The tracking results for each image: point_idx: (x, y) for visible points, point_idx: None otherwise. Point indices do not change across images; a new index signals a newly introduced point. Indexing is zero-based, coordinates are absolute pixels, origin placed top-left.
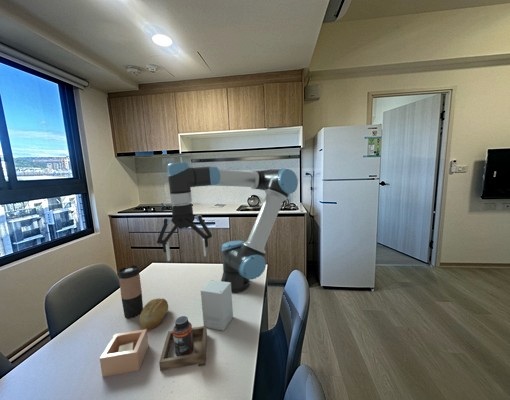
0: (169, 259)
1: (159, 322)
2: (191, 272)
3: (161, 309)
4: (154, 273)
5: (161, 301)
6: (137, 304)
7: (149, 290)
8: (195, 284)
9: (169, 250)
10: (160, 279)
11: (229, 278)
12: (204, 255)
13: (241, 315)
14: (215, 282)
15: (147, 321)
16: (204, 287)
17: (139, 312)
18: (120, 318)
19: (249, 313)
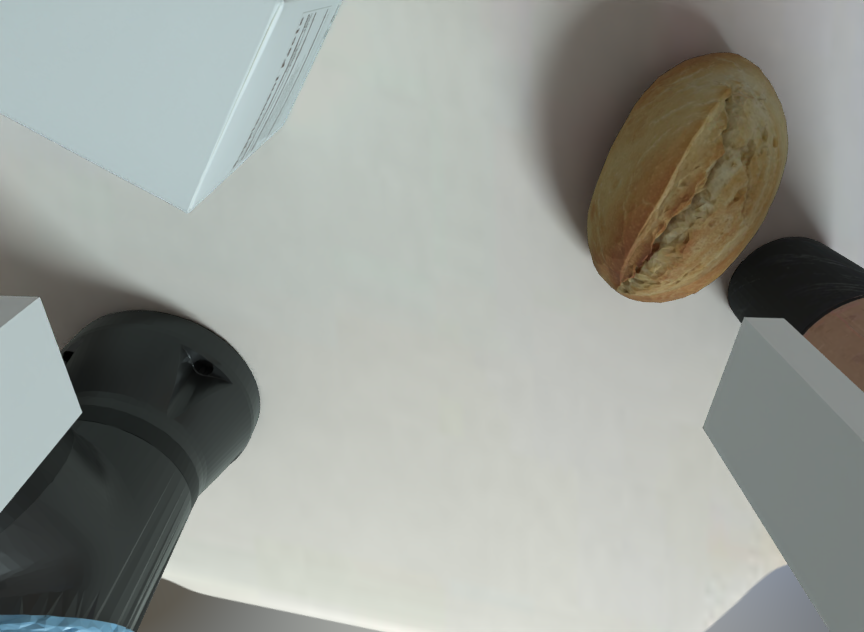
0: (752, 343)
1: (644, 92)
2: (447, 572)
3: (646, 145)
4: (650, 609)
5: (650, 220)
6: (796, 282)
7: (682, 471)
8: (420, 459)
9: (808, 551)
10: (619, 552)
11: (155, 392)
12: (15, 307)
13: None
14: (133, 138)
15: (739, 70)
16: (244, 61)
17: (756, 261)
18: (857, 254)
19: None
